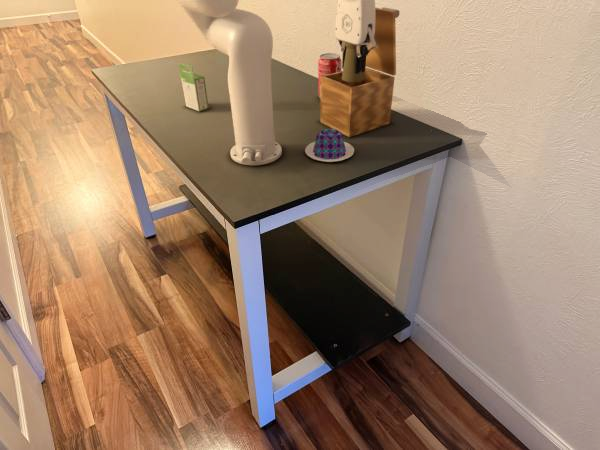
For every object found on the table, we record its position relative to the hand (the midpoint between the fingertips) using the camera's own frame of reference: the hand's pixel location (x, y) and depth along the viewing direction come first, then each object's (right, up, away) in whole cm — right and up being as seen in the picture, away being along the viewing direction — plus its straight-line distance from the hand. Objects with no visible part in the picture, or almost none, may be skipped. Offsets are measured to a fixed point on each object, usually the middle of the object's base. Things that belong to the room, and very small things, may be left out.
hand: (353, 69), depth 107 cm
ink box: (-45, -4, +22) cm, 50 cm away
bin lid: (+6, +7, 0) cm, 9 cm away
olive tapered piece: (0, -2, +1) cm, 3 cm away
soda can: (-4, 0, +26) cm, 26 cm away
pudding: (-7, -22, -5) cm, 24 cm away
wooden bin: (+2, -11, +9) cm, 15 cm away
